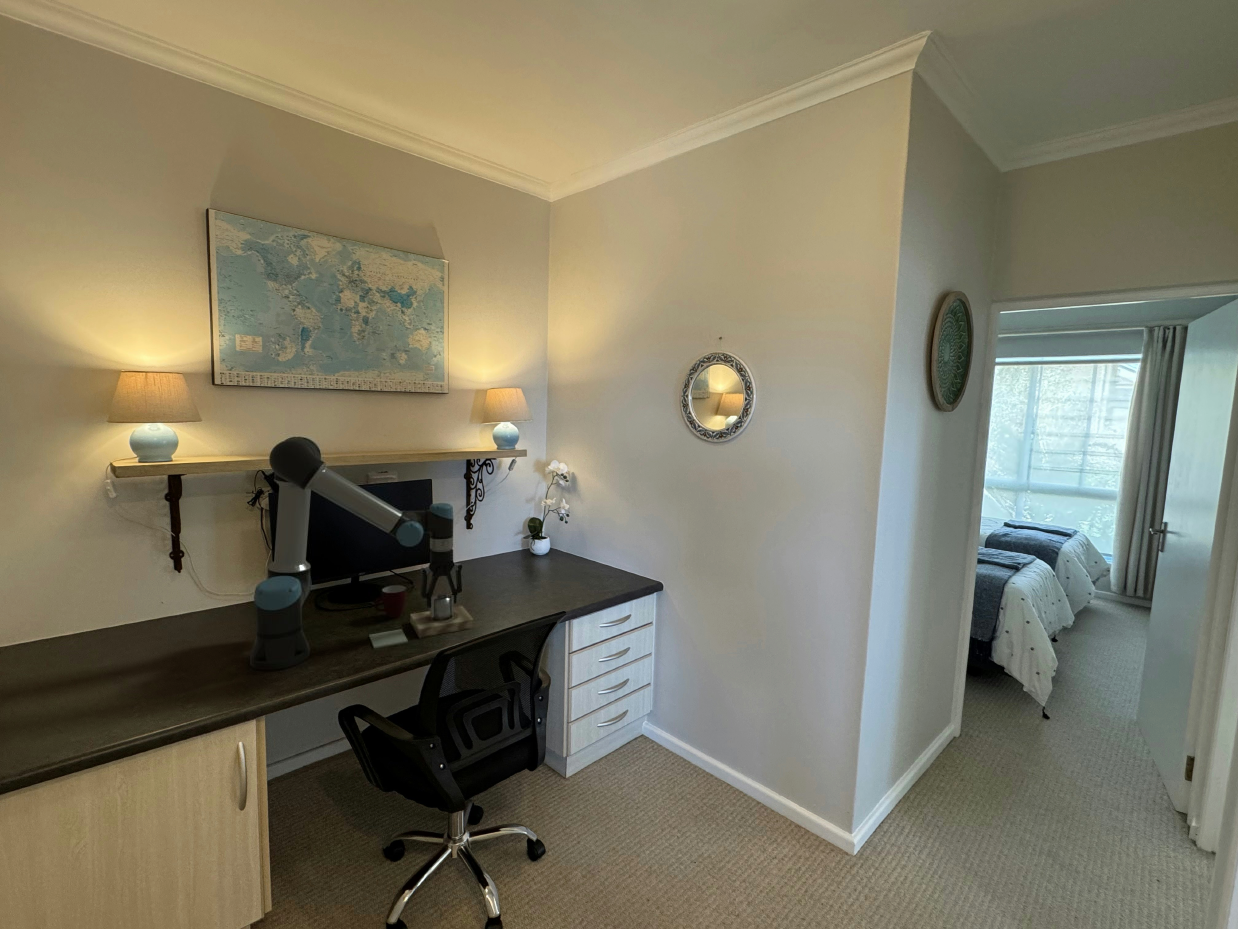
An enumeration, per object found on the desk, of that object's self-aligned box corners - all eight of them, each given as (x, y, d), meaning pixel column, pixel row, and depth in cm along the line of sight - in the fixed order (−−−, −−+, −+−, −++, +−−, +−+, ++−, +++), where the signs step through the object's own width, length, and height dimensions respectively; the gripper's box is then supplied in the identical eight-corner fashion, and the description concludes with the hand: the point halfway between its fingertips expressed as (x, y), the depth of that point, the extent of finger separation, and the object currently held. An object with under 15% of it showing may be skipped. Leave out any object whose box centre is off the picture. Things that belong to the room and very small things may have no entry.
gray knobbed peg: (435, 630, 194) (434, 598, 193) (430, 623, 199) (430, 593, 198) (452, 626, 197) (452, 596, 196) (448, 620, 203) (448, 590, 201)
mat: (374, 648, 179) (374, 646, 179) (369, 636, 187) (369, 634, 187) (407, 642, 184) (407, 640, 184) (401, 631, 193) (401, 629, 193)
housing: (419, 637, 188) (419, 629, 188) (410, 622, 200) (410, 614, 199) (473, 627, 197) (473, 619, 197) (461, 613, 209) (461, 605, 209)
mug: (378, 623, 198) (377, 595, 196) (372, 616, 204) (371, 588, 203) (409, 617, 204) (409, 590, 203) (402, 610, 210) (402, 583, 209)
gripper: (415, 555, 187) (415, 623, 190) (472, 548, 197) (472, 613, 200) (410, 549, 193) (410, 615, 196) (466, 543, 203) (465, 606, 206)
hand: (441, 614), depth 198 cm, fingers closed on gray knobbed peg, 6 cm apart
